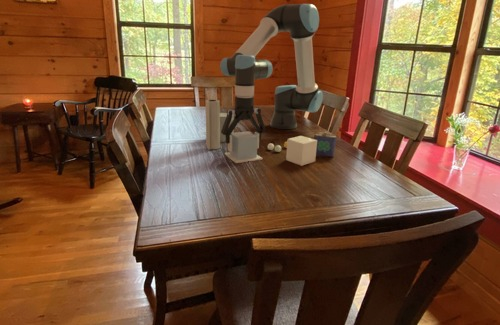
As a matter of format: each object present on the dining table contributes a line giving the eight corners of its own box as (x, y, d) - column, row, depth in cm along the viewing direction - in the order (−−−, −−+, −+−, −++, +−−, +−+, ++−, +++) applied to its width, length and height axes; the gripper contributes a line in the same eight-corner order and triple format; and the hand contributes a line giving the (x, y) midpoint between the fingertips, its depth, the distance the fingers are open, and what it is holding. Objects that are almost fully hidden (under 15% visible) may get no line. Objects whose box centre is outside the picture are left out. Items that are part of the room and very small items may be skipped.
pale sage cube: (248, 151, 143) (248, 131, 140) (256, 157, 136) (257, 136, 133) (230, 153, 139) (230, 133, 136) (238, 159, 132) (238, 138, 129)
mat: (249, 151, 145) (249, 149, 145) (262, 159, 135) (262, 158, 135) (224, 154, 140) (224, 152, 140) (235, 163, 130) (235, 161, 130)
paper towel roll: (214, 144, 152) (213, 98, 145) (222, 148, 148) (222, 100, 141) (201, 148, 148) (200, 100, 140) (209, 151, 144) (209, 102, 136)
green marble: (279, 150, 147) (279, 144, 146) (282, 152, 145) (282, 146, 144) (273, 151, 146) (273, 144, 145) (276, 153, 143) (276, 146, 142)
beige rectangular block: (299, 156, 141) (301, 135, 138) (315, 161, 135) (317, 140, 132) (286, 159, 136) (287, 138, 132) (301, 165, 130) (303, 143, 127)
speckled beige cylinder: (230, 143, 156) (231, 117, 152) (211, 141, 158) (211, 116, 154) (235, 137, 165) (236, 113, 161) (217, 136, 167) (217, 112, 162)
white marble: (272, 150, 149) (272, 143, 149) (275, 149, 146) (275, 143, 146) (266, 150, 148) (266, 143, 148) (269, 149, 145) (269, 143, 145)
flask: (334, 155, 142) (337, 131, 139) (333, 157, 140) (336, 133, 136) (312, 153, 145) (314, 129, 141) (311, 155, 142) (314, 131, 138)
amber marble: (284, 139, 151) (281, 145, 151) (288, 141, 148) (285, 147, 149) (288, 141, 153) (285, 147, 153) (292, 143, 150) (290, 149, 151)
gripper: (266, 93, 137) (264, 143, 145) (212, 96, 127) (213, 149, 135) (275, 96, 131) (272, 148, 138) (219, 99, 121) (219, 155, 128)
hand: (243, 149), depth 137 cm, fingers open, 11 cm apart
